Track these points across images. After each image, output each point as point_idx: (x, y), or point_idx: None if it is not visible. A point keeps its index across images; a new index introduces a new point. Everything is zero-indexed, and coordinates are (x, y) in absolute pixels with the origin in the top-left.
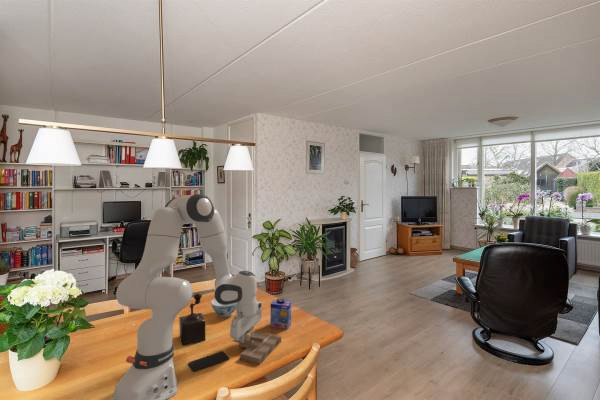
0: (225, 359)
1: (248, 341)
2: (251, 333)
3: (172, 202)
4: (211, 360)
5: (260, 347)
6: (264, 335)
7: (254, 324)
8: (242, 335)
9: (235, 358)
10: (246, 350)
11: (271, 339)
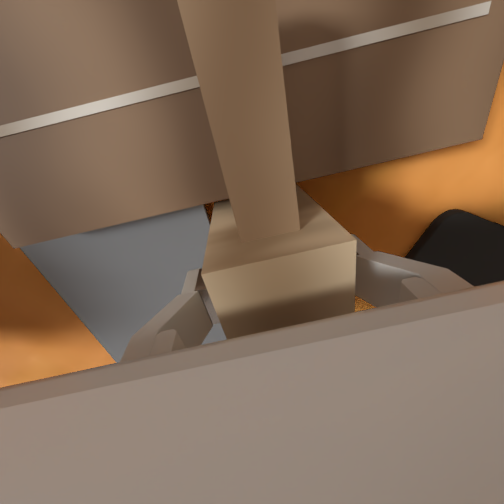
0: (470, 222)
1: (317, 207)
2: (271, 250)
3: None
4: (491, 275)
5: (278, 13)
6: (44, 199)
7: (114, 378)
8: (458, 281)
9: (423, 183)
10: (405, 132)
11: (2, 28)
